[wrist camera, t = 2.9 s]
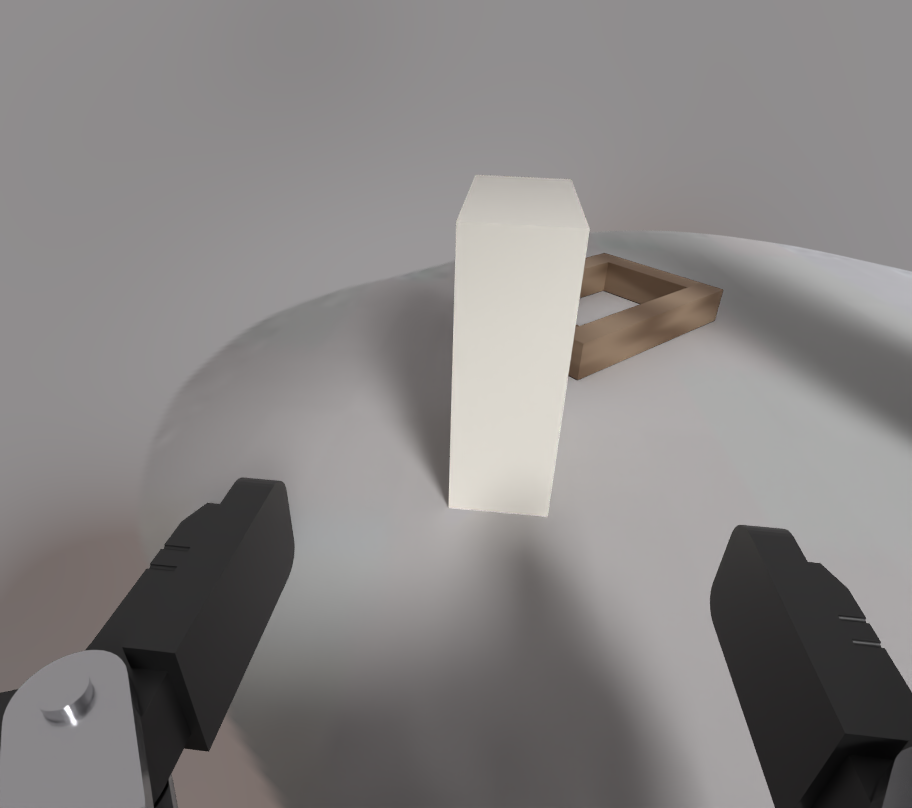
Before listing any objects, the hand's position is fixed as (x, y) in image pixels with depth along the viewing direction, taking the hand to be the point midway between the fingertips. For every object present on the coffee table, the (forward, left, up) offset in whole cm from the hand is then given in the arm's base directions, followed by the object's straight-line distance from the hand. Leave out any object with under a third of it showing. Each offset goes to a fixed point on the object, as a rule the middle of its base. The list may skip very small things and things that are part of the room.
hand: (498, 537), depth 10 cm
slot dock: (-5, -26, -6) cm, 27 cm away
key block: (0, -11, -6) cm, 13 cm away
